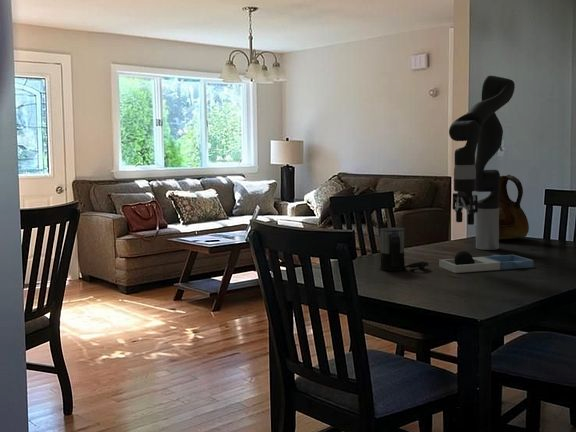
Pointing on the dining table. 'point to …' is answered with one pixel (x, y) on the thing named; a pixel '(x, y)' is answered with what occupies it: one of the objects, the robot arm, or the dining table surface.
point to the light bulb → (464, 258)
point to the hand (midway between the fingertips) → (464, 223)
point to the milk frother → (394, 250)
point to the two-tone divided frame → (488, 263)
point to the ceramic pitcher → (511, 212)
